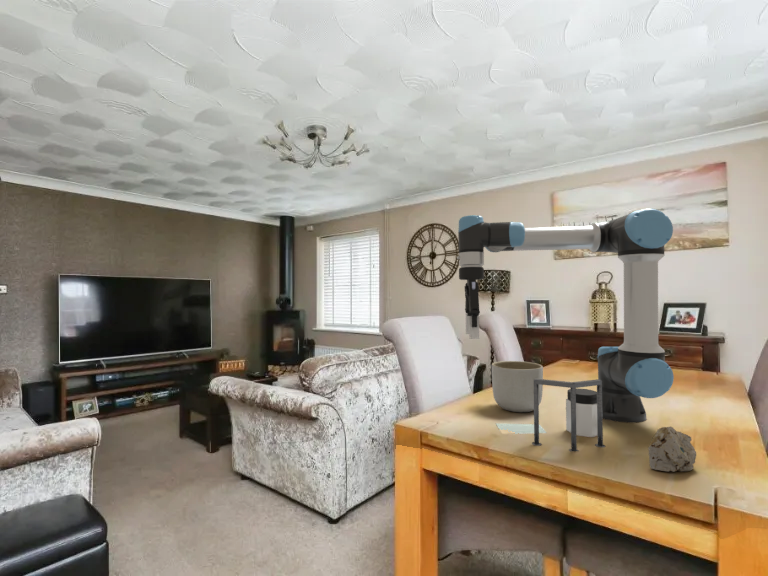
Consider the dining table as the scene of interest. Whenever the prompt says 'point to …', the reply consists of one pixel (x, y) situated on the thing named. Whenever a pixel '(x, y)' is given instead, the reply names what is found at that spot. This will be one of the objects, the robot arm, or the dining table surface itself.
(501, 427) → the pad
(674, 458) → the rock
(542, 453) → the dining table surface
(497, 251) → the robot arm
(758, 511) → the dining table surface
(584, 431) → the jar
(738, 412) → the dining table surface
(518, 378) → the planter
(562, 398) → the dining table surface
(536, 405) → the metal railing
